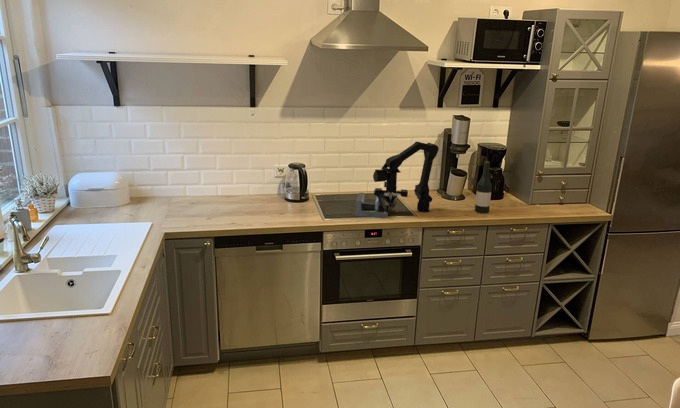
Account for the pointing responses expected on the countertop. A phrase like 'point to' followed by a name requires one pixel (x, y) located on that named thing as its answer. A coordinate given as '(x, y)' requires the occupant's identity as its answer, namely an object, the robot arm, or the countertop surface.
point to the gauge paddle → (377, 205)
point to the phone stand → (382, 203)
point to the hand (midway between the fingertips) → (390, 206)
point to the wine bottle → (483, 191)
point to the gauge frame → (361, 205)
